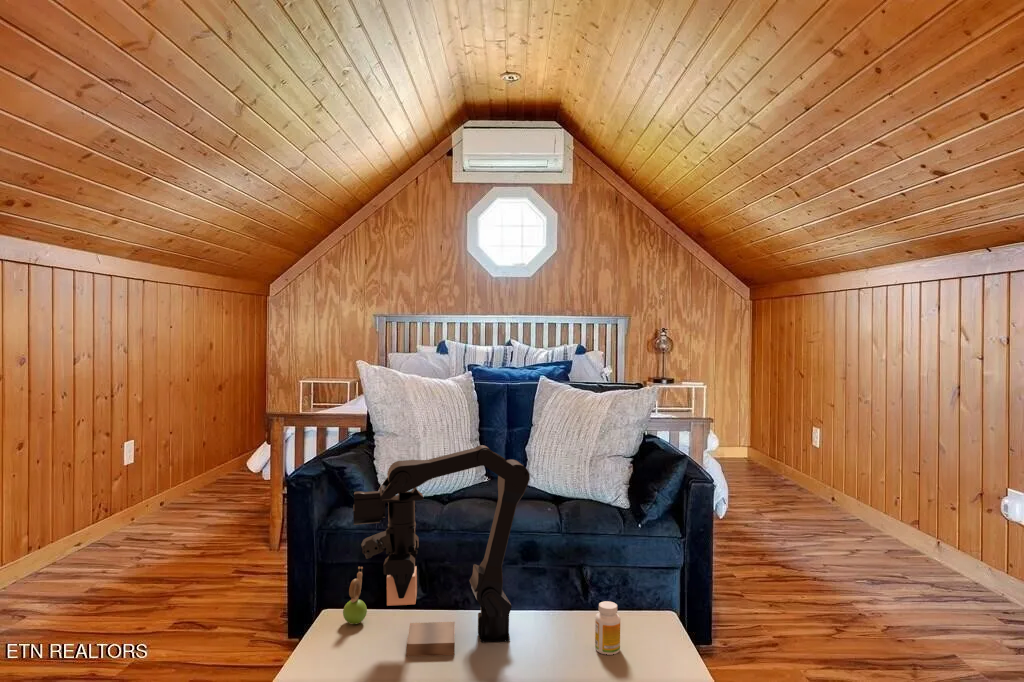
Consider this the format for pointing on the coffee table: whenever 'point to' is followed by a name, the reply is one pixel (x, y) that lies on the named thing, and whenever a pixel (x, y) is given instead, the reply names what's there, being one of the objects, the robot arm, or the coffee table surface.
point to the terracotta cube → (409, 596)
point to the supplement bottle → (607, 629)
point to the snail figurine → (355, 602)
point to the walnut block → (431, 639)
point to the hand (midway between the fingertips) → (402, 592)
